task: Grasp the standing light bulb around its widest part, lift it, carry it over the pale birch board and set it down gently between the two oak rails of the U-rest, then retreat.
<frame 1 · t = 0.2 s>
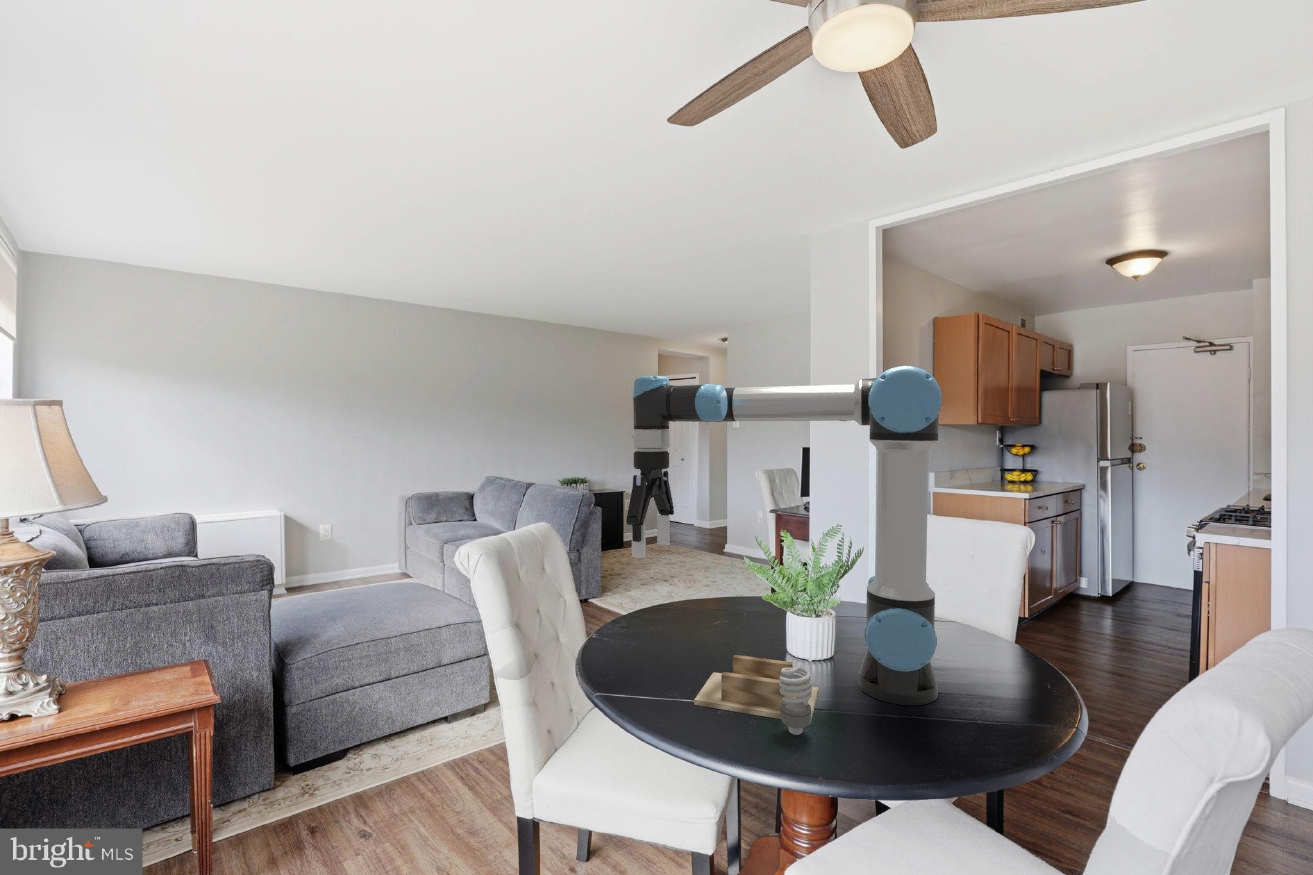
hand: (651, 550, 130), 28 cm above the table, fingers open, 13 cm apart
light bulb: (795, 736, 108), on the table
u rest: (757, 698, 122), on the table
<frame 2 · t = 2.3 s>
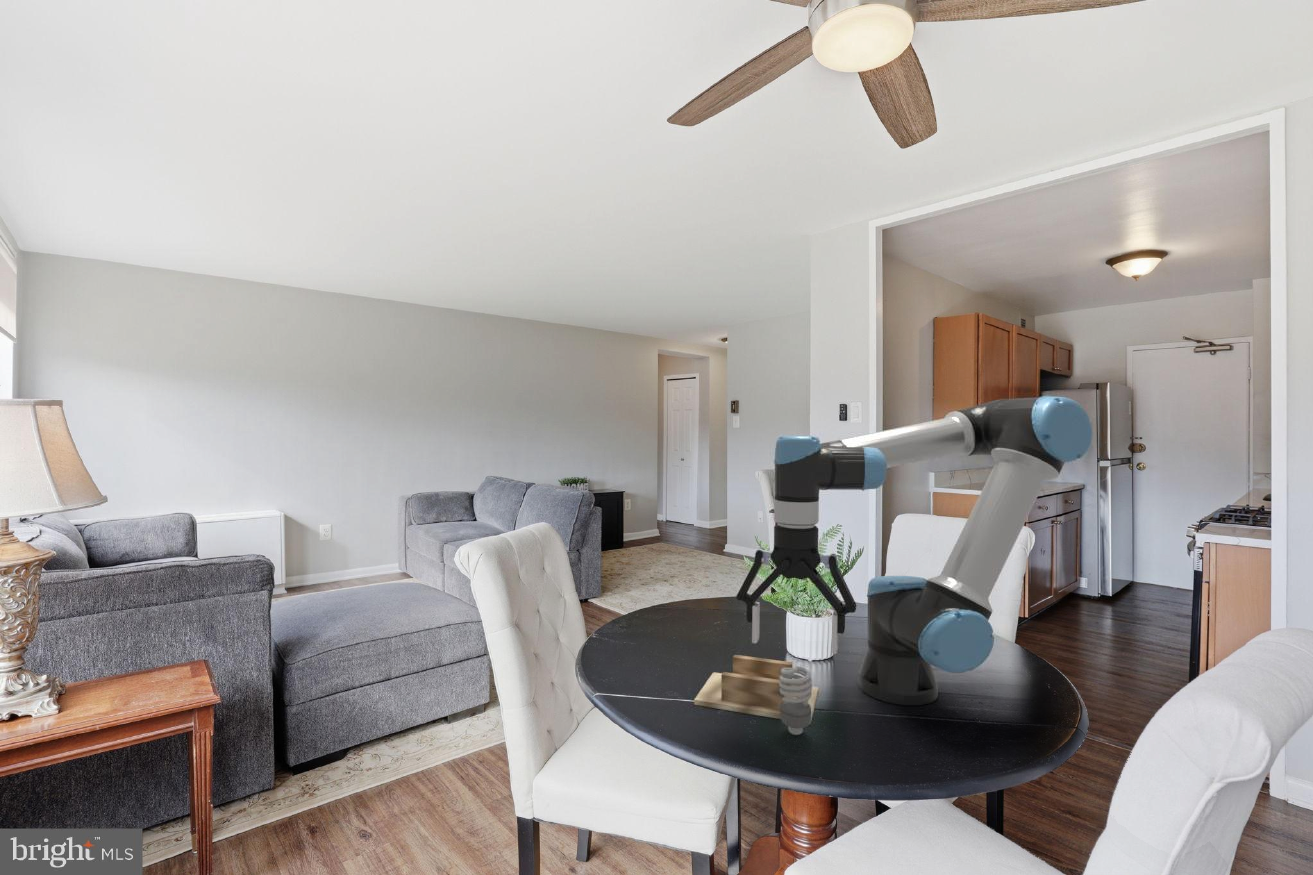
hand: (794, 645, 107), 16 cm above the table, fingers open, 13 cm apart
nothing on the table moved.
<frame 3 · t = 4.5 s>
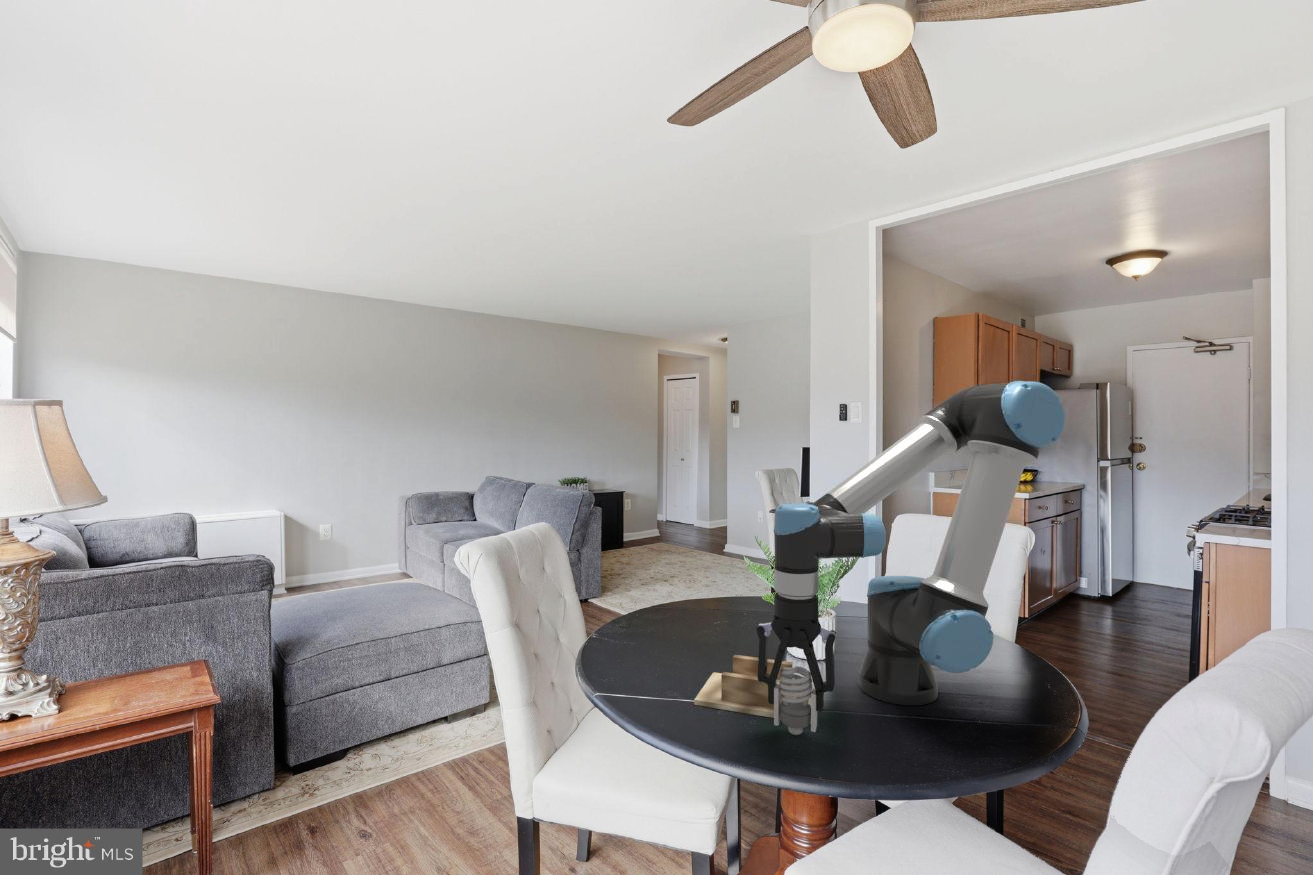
hand: (795, 724, 108), 2 cm above the table, fingers closed on light bulb, 6 cm apart
light bulb: (795, 736, 108), on the table, touching gripper
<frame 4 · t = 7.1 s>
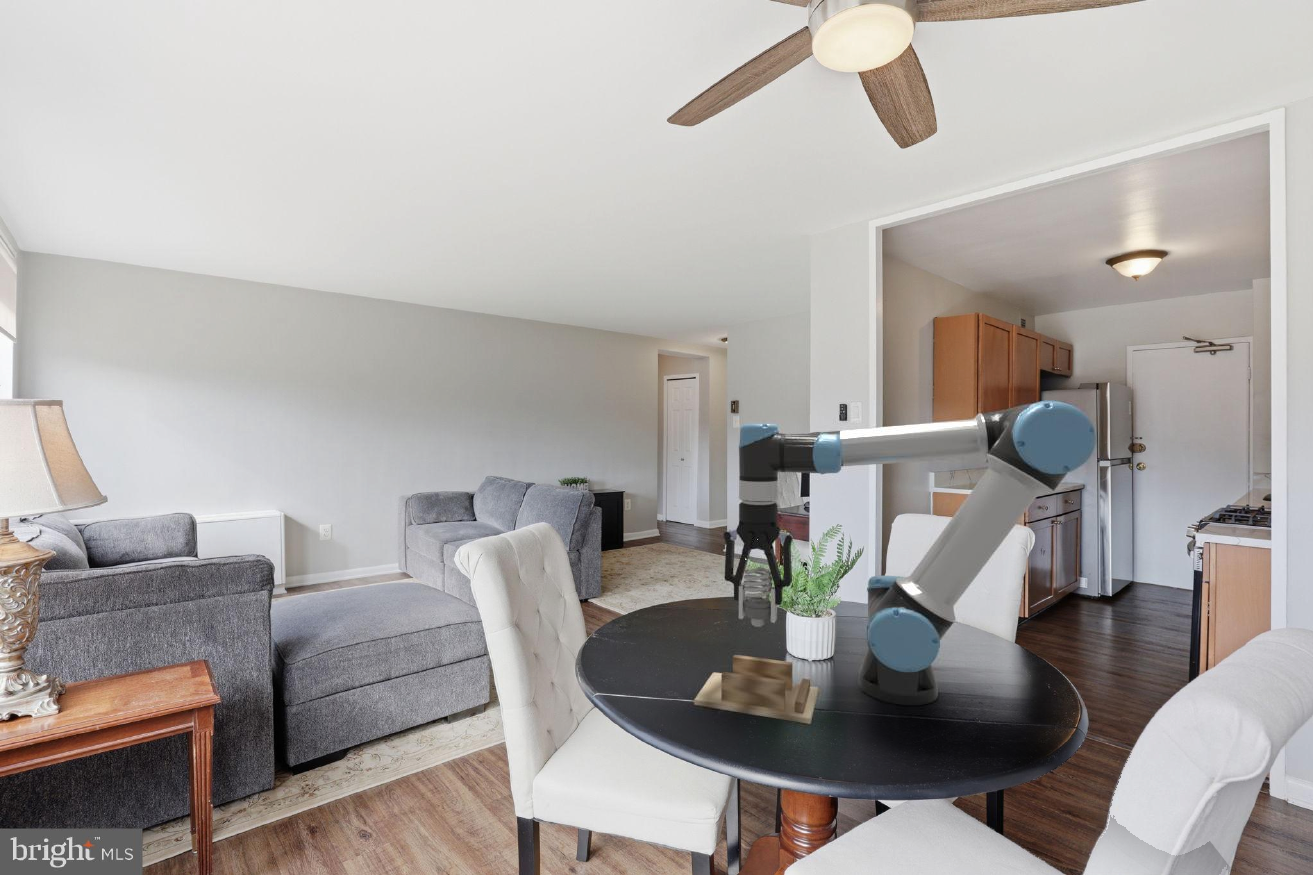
hand: (757, 618, 122), 16 cm above the table, fingers closed on light bulb, 6 cm apart
light bulb: (757, 628, 122), point 14 cm above the table, touching gripper
when the fingers open (4 cm above the table, at t = 9.9 s): light bulb stays where it is, resting on u rest.
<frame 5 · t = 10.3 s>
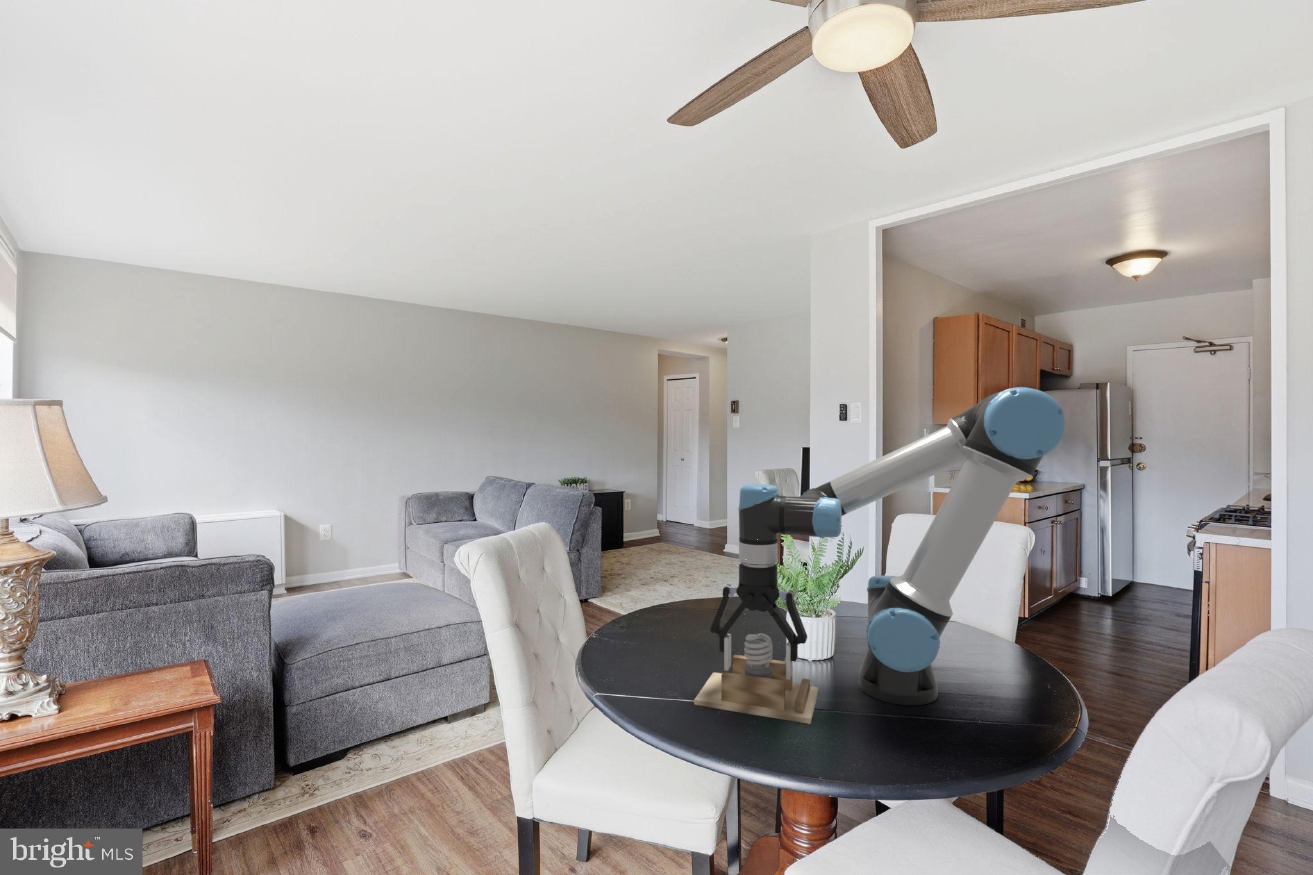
hand: (757, 672, 122), 5 cm above the table, fingers open, 11 cm apart
light bulb: (758, 694, 122), point 1 cm above the table, touching u rest
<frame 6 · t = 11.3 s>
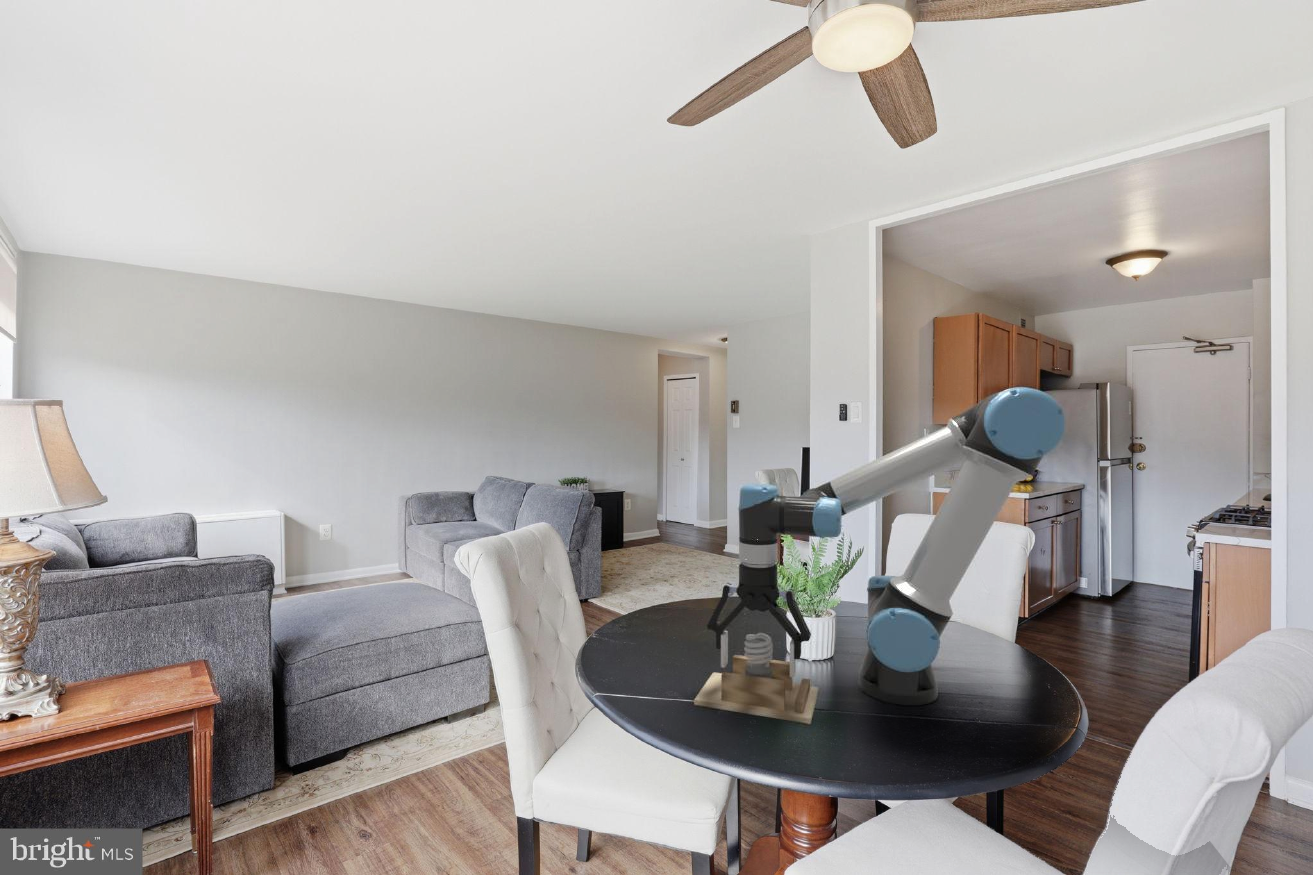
hand: (757, 669, 122), 6 cm above the table, fingers open, 13 cm apart
nothing on the table moved.
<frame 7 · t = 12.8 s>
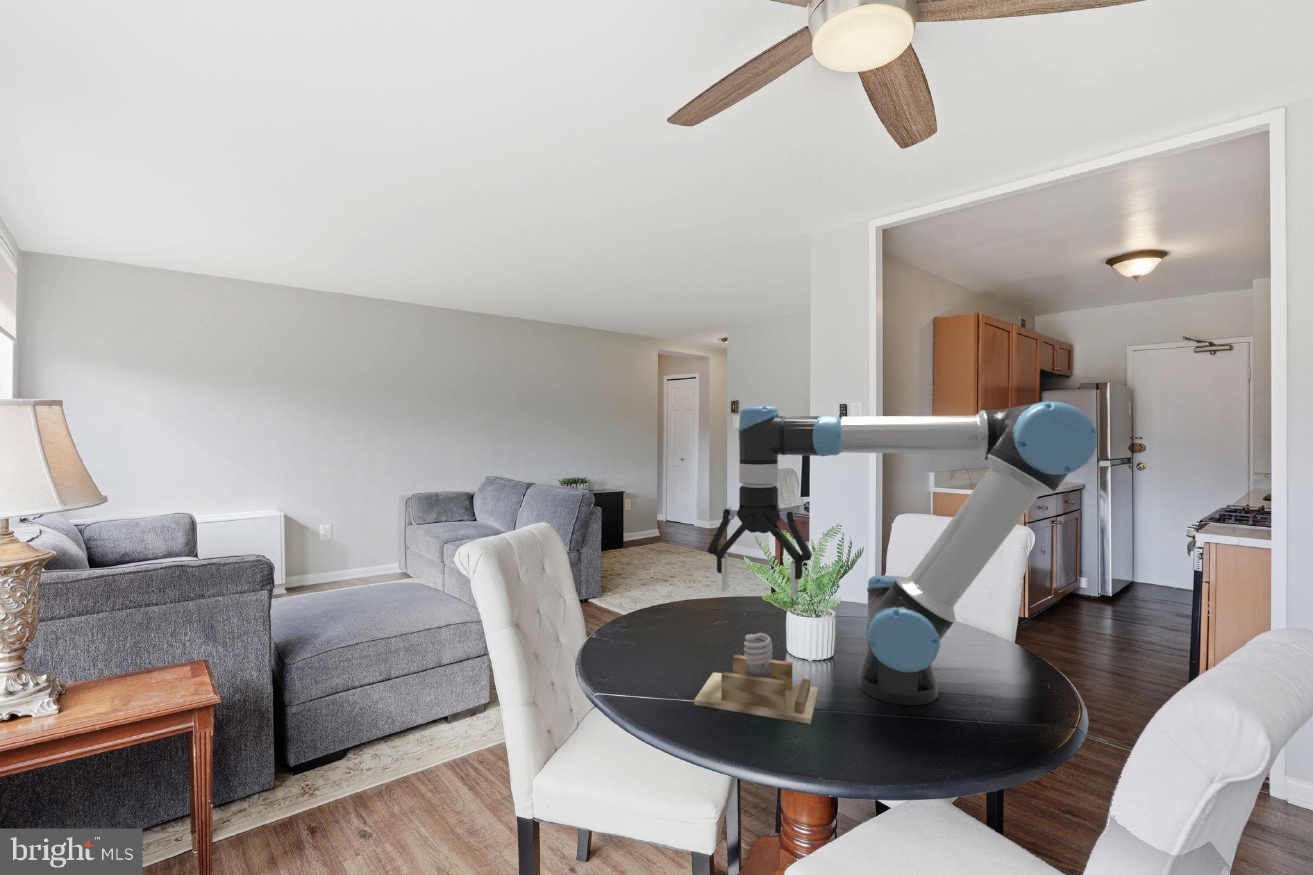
hand: (758, 592, 122), 21 cm above the table, fingers open, 13 cm apart
nothing on the table moved.
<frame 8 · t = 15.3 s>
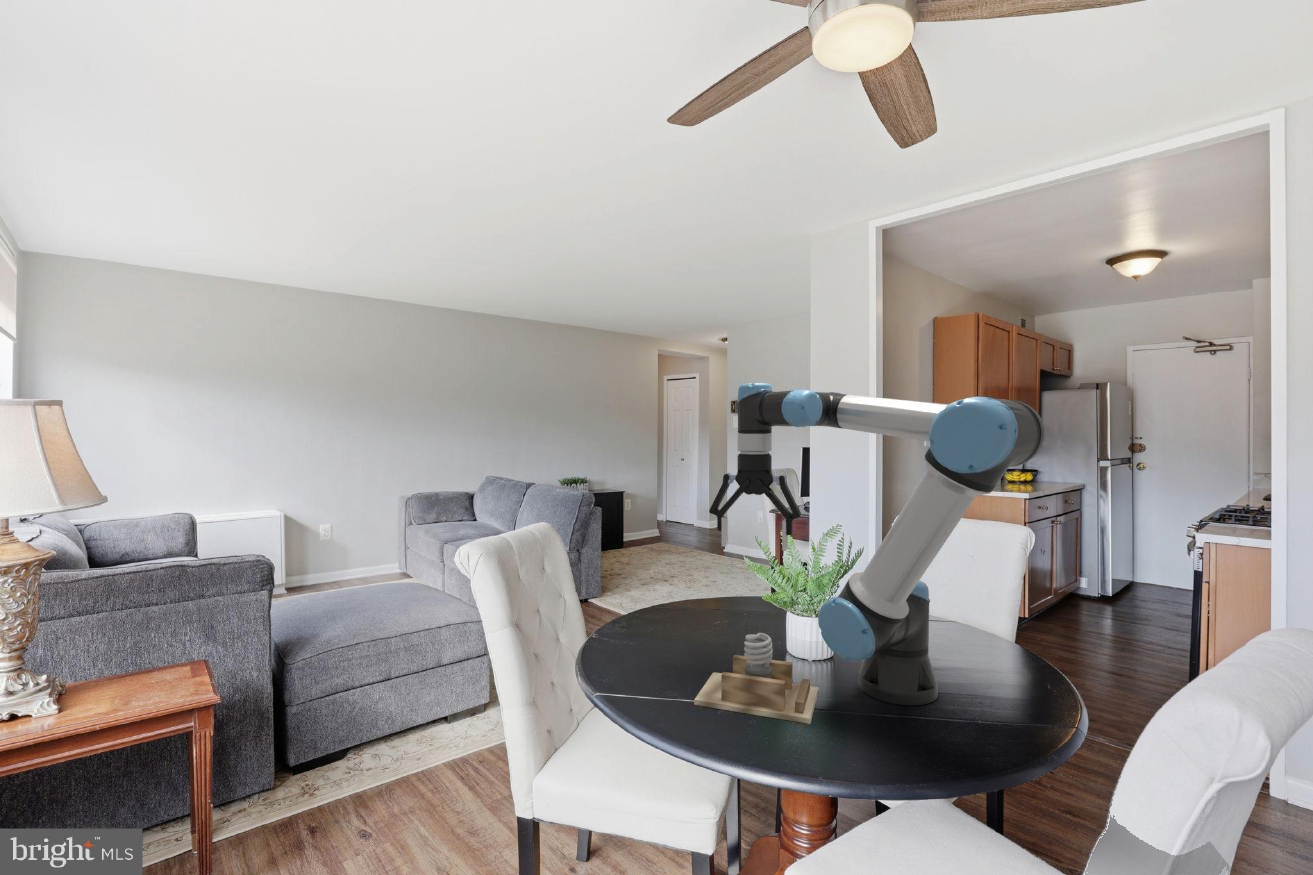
hand: (754, 547, 138), 27 cm above the table, fingers open, 13 cm apart
nothing on the table moved.
at the end: light bulb inside the target area on the u rest (0.1 cm from its centre), point 0.8 cm above the u rest's base; the gripper is holding nothing; light bulb tilted 0° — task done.
